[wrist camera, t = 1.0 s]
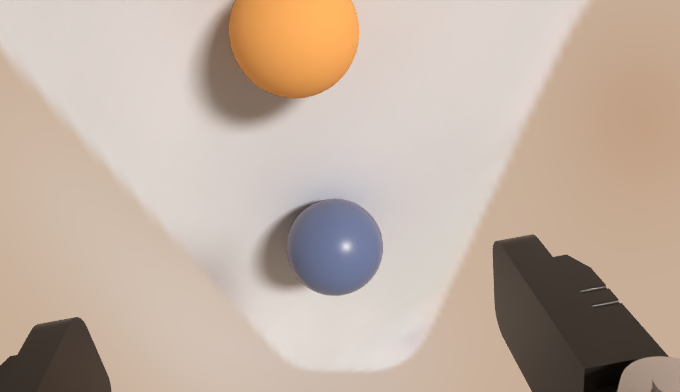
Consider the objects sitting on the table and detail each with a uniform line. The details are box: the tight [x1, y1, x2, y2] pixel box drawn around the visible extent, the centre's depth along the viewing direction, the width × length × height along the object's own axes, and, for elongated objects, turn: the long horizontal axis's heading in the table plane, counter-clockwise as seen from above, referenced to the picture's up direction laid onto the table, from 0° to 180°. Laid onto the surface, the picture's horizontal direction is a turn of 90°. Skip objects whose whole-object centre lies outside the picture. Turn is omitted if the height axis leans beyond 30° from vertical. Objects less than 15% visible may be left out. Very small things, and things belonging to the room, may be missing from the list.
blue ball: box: [287, 199, 383, 296], centre depth 31 cm, size 5×5×5 cm
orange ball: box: [229, 0, 359, 98], centre depth 23 cm, size 5×5×5 cm
